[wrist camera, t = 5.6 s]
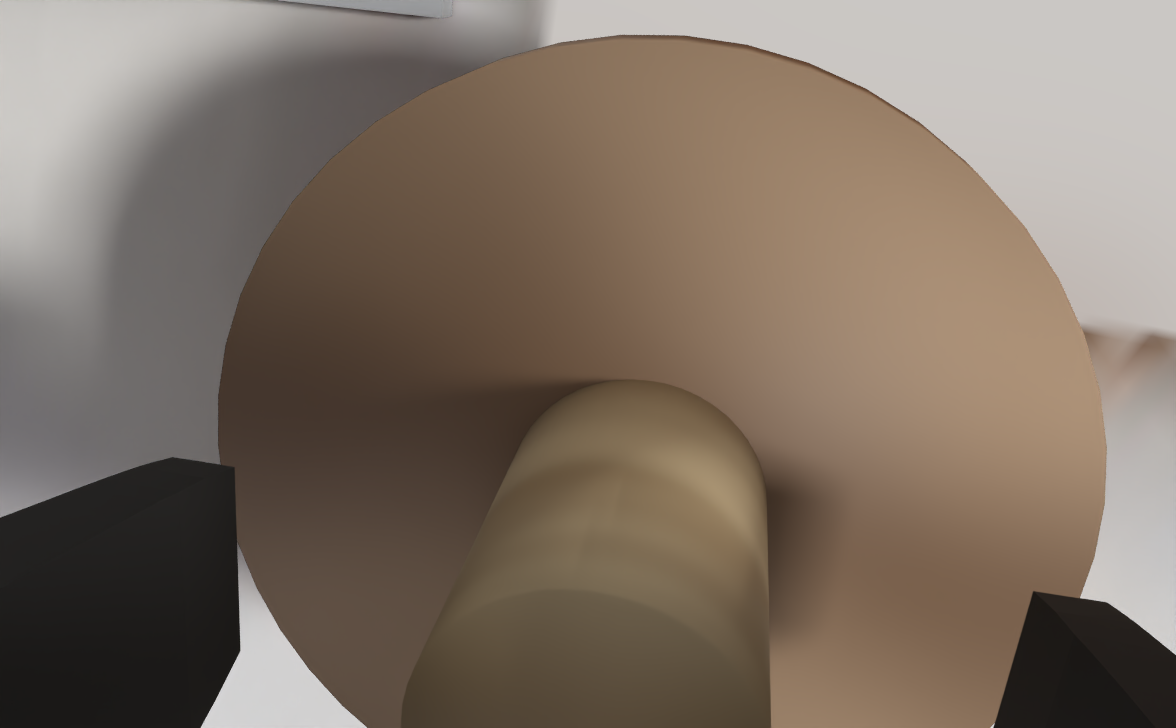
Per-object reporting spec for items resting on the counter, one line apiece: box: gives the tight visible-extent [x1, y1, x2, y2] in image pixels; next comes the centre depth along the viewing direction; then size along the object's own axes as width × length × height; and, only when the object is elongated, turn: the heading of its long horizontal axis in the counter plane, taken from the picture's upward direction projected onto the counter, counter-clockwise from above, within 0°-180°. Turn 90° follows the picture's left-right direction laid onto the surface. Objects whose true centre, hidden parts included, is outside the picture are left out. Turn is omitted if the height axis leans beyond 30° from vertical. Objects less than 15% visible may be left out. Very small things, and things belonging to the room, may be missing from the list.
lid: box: [218, 35, 1107, 728], centre depth 10 cm, size 10×10×5 cm
